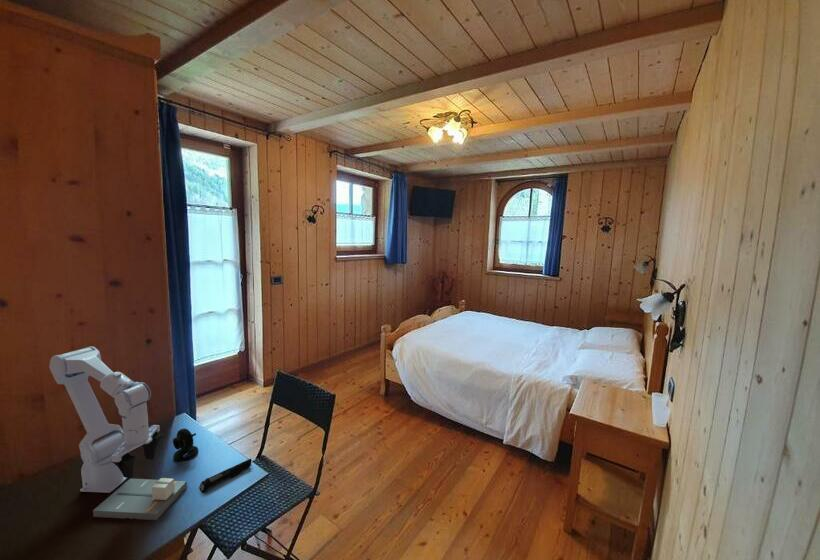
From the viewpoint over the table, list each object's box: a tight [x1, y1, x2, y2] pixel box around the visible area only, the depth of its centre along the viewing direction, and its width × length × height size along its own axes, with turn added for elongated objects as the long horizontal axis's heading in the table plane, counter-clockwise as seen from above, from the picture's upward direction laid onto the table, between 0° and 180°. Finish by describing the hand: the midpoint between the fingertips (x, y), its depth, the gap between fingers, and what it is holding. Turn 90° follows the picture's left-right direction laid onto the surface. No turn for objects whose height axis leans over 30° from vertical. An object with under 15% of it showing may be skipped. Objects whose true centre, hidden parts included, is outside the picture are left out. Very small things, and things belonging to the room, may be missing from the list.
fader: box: [151, 477, 175, 500], centre depth 96 cm, size 4×4×4 cm
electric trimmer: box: [198, 458, 252, 494], centre depth 107 cm, size 4×16×3 cm, turn 139°
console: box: [92, 477, 188, 521], centre depth 97 cm, size 18×12×2 cm, turn 89°
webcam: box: [172, 428, 199, 463], centre depth 116 cm, size 8×8×10 cm
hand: (139, 467), depth 97 cm, fingers open, 7 cm apart
